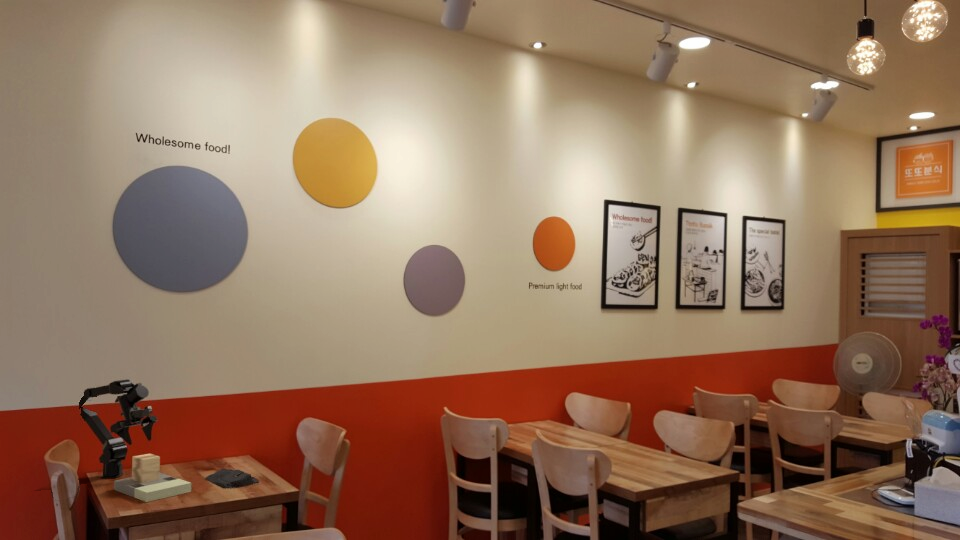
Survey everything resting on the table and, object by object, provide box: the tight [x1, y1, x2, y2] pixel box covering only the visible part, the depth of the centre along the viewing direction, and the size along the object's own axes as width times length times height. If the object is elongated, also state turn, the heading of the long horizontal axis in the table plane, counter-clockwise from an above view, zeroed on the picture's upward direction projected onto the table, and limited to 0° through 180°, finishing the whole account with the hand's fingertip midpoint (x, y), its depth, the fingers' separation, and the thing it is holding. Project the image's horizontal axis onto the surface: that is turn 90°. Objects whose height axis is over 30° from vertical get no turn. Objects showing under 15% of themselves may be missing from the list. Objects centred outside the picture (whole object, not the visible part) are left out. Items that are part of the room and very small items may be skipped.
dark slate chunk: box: [204, 468, 260, 490], centre depth 297 cm, size 15×22×5 cm
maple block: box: [131, 453, 161, 483], centre depth 283 cm, size 8×7×9 cm
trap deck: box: [113, 471, 192, 503], centre depth 280 cm, size 25×18×4 cm
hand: (140, 442), depth 293 cm, fingers open, 9 cm apart
